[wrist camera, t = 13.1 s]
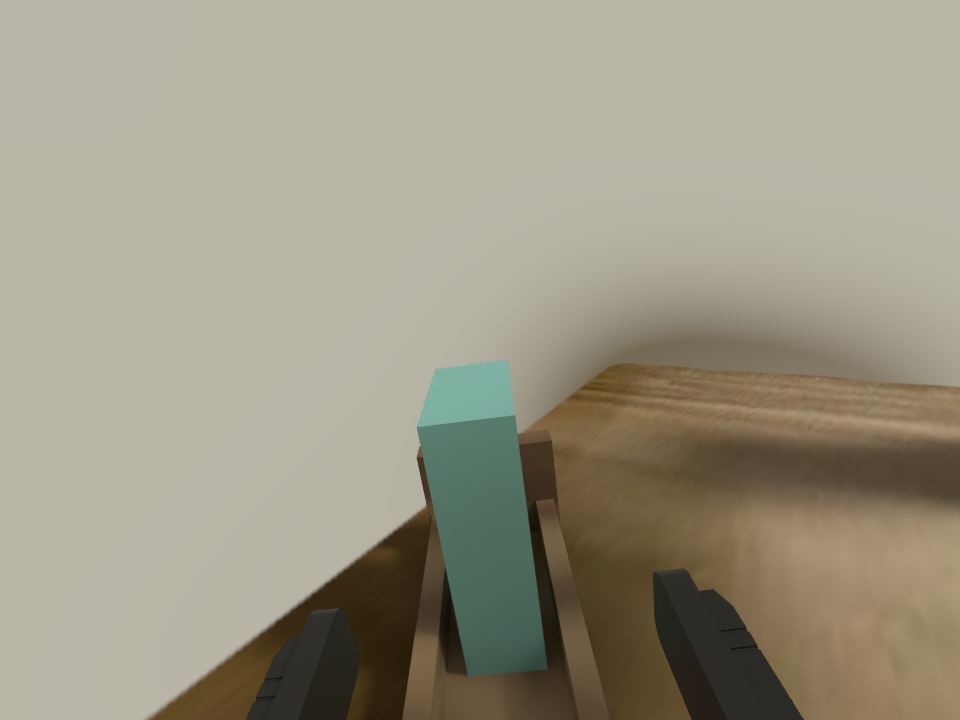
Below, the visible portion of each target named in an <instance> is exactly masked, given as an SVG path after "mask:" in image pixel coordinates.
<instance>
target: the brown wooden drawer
mask: <svg viewBox="0 0 960 720" xmlns="http://www.w3.org/2000/svg"><path fill="white" fill-rule="evenodd" d="M517 435H518V443H519V451H520V458H521V466H522V474H523V482H524V489H525V497H526V505H527V513H528V520H529V528H530V536H531V544H532V551H533V559H534V567H535V575H536V582H537V590H538V598H539V606H540V613H541V621H542V629H543V637H544V644H545V652H546V660H547V668H548V670H537V671H525V672H514V673H503V674H492V675H480V676H469V677H468V674H467V669H466V664H465V659H464V654H463V649H462V644H461V640H460V635H459V630H458V625H457V620H456V615H455V610H454V605H453V601H452V596H451V591H450V586H449V581H448V576H447V571H446V567H445V562H444V557H443V552H442V547H441V542H440V537H439V532H438V528H437V523H436V518H435V513H434V508H433V503H432V498H431V493H430V489H429V484H428V479H427V474H426V469H425V464H424V459H423V455H422V450H421V446H420V447H419V451H418V455H417V461H418V466H419V470H420V476H421V480H422V485H423V490H424V494H425V499H426V504H427V509H428V514H429V518H430V523H431V529H430V536H429V543H428V550H427V556H426V563H425V570H424V577H423V583H422V590H421V597H420V604H419V610H418V617H417V624H416V630H415V637H414V644H413V651H412V657H411V664H410V671H409V678H408V684H407V691H406V698H405V704H404V711H403V718H402V720H610V716H609V712H608V708H607V704H606V701H605V697H604V693H603V689H602V685H601V681H600V677H599V674H598V670H597V666H596V662H595V658H594V654H593V650H592V647H591V643H590V639H589V635H588V631H587V627H586V623H585V620H584V616H583V612H582V608H581V604H580V600H579V597H578V593H577V589H576V585H575V581H574V577H573V573H572V570H571V566H570V562H569V558H568V554H567V550H566V546H565V543H564V539H563V535H562V531H561V527H560V518H559V508H558V498H557V489H556V479H555V469H554V460H553V450H552V440H551V437H550V434H549V431H548V430H544V431H536V432H529V433H521V434H517Z"/></svg>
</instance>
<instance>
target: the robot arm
mask: <svg viewBox="0 0 960 720" xmlns="http://www.w3.org/2000/svg"><path fill="white" fill-rule="evenodd" d="M653 587H654V615H655V623H656V628H657V632H658V636H659V639H660V642H661V645H662V648H663V650H664V653H665V655H666V658H667V660H668V662H669V665H670V667H671V670H672V672H673V675H674V677H675V680H676V682H677V685H678V687H679V690H680V692H681V694H682V697H683V699H684V702H685V704H686V707H687V709H688V712H689V714H690V717H691V719H692V720H804V719H803V718H802V716H801V715H800V713H799V711H798V710H797V708H796V707H795V705H794V703H793V702H792V700H791V699H790V697H789V695H788V694H787V692H786V691H785V689H784V687H783V686H782V684H781V682H780V681H779V679H778V678H777V676H776V674H775V673H774V671H773V670H772V668H771V666H770V665H769V663H768V662H767V660H766V658H765V657H764V655H763V654H762V652H761V650H759V649H758V647H757V644H756V642H755V641H754V639H753V638H752V636H751V634H750V633H749V632H748V631H747V629H746V626H745V625H744V623H743V621H742V620H741V618H740V617H739V615H738V613H737V612H736V610H735V609H734V607H733V606H732V605H731V604H730V603H729V602H727V601H726V600H725V599H724V598H723V597H722V596H720V595H719V594H718V593H717V592H716V591H715V590H713V589H712V590H703V591H698V589H697V588H696V586H695V584H694V582H693V580H692V579H691V577H690V575H689V573H688V572H687V571H686V570H685V569H676V570H667V571H659V572H654V574H653ZM358 664H359V658H358V650H357V646H356V643H355V640H354V637H353V634H352V631H351V628H350V625H349V622H348V619H347V616H346V613H345V611H344V609H343V608H334V609H326V610H317V611H313V612H312V613H311V614H310V615H309V617H308V619H307V622H306V624H305V626H304V629H303V631H302V634H301V635H300V636H291V637H290V638H289V640H288V641H287V642H286V643H285V645H284V646H283V647H282V648H281V649H280V651H279V652H278V653H277V654H276V655H275V657H274V659H273V661H272V663H271V665H270V668H269V670H268V672H267V674H266V677H265V681H264V683H262V685H261V688H260V690H259V692H258V694H257V696H256V702H254V703H253V705H252V707H251V710H250V712H249V714H248V716H247V718H246V720H346V717H347V713H348V710H349V706H350V702H351V698H352V694H353V690H354V687H355V683H356V679H357V674H358Z"/></svg>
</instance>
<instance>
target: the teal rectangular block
mask: <svg viewBox="0 0 960 720" xmlns="http://www.w3.org/2000/svg"><path fill="white" fill-rule="evenodd" d="M417 430H418V435H419V440H420V445H421V450H422V455H423V459H424V464H425V469H426V474H427V479H428V484H429V489H430V493H431V498H432V503H433V508H434V513H435V518H436V523H437V528H438V532H439V537H440V542H441V547H442V552H443V557H444V562H445V567H446V571H447V576H448V581H449V586H450V591H451V596H452V601H453V605H454V610H455V615H456V620H457V625H458V630H459V635H460V640H461V644H462V649H463V654H464V659H465V664H466V669H467V674H468V677H469V676H480V675H492V674H503V673H514V672H525V671H537V670H548V668H547V660H546V652H545V644H544V637H543V629H542V621H541V613H540V606H539V598H538V590H537V582H536V575H535V567H534V559H533V551H532V544H531V536H530V528H529V520H528V513H527V505H526V497H525V489H524V482H523V474H522V466H521V458H520V451H519V443H518V435H517V427H516V420H515V412H514V405H513V397H512V390H511V383H510V375H509V367H508V360H502V361H495V362H487V363H479V364H472V365H464V366H456V367H448V368H441V369H435V372H434V376H433V378H432V382H431V385H430V388H429V391H428V395H427V397H426V400H425V403H424V407H423V410H422V413H421V416H420V419H419V422H418V425H417Z"/></svg>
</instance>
